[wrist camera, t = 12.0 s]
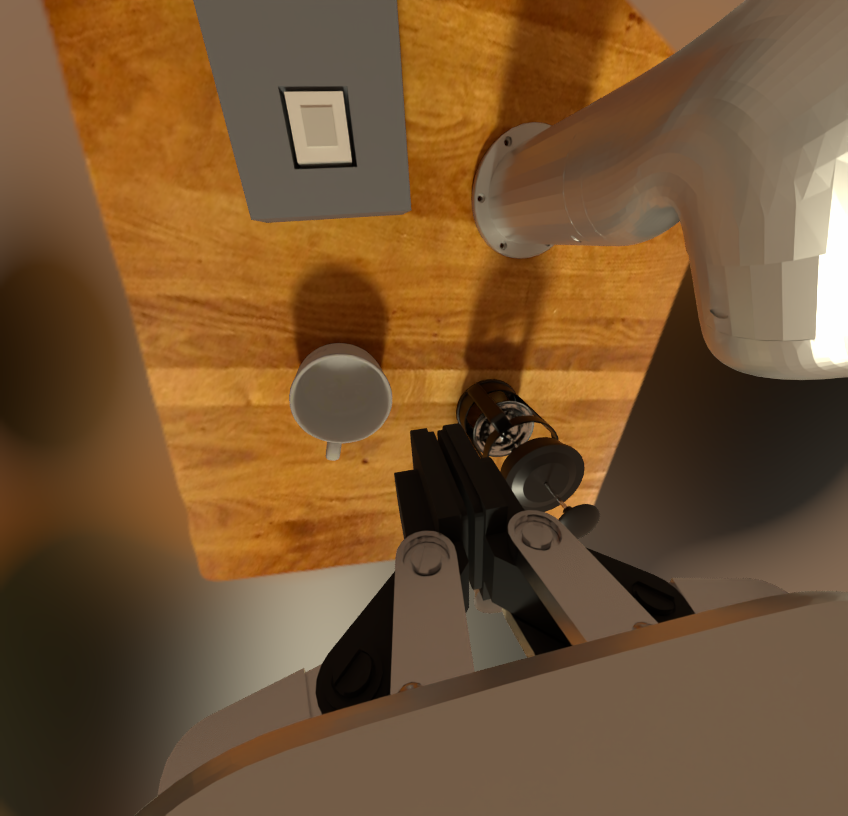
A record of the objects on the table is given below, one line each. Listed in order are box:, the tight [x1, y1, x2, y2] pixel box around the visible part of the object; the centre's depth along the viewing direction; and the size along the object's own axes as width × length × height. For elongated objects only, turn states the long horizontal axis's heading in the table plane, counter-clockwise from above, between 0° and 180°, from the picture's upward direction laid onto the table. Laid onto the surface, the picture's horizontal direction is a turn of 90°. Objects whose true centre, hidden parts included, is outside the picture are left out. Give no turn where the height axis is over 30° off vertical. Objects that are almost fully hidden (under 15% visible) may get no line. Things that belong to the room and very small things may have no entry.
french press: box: [456, 379, 600, 539], centre depth 39 cm, size 12×9×23 cm
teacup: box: [289, 343, 392, 460], centre depth 40 cm, size 14×11×8 cm
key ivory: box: [284, 91, 352, 169], centre depth 28 cm, size 4×4×3 cm
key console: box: [193, 0, 411, 223], centre depth 27 cm, size 14×24×6 cm, turn 4°
